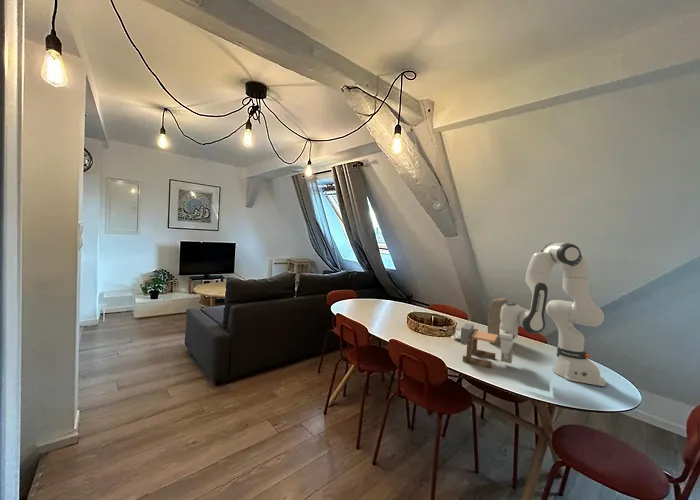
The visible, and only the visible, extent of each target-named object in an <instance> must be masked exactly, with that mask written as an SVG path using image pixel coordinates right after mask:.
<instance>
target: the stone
mask: <svg viewBox="0 0 700 500" xmlns="http://www.w3.org/2000/svg"><path fill="white" fill-rule="evenodd" d="M513 355H514V349H511V350H510V352H509V354H508V359H504V353H502V352H501V355H500V357H501V358H500V361H501V362H503V363H508V364H512V362H513Z"/></svg>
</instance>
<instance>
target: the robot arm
mask: <svg viewBox="0 0 700 500" xmlns="http://www.w3.org/2000/svg"><path fill="white" fill-rule="evenodd" d="M556 264H561V265H562V267H563V274H562V291H563V292H564V293H565V294H566V295H568V296H570V297H571V298H572V300H573V301H568V300H562V299H551V300H550V301H548V302H547V300H548V291H549V283H550V278H551V273H552V271H553V268H554V266H555V265H556ZM589 278H590V269H589V262H588V260H587V258H585V256H583V255H582V251H581V250H580V248H579V247H578V246H577V245H575V244H573V243H570V242H569V243H568V242H562V241H561V242H552V243H551V242H549V243H548V244H546V245H545V246H544V247H543V248H542V250H541V251H538V252H534V253H533V254H532V256H531V258H530V260H529V263H528V266H527V268H526V273H525V283H526V285H527V287H528V289H530V292H531V294H532V299H531V302H530V303H531V304H530V308H529V309H527V308H526V307H525V308H524V307H522V306H520V305H519V304H518V303H516V302H513V301H512V302H511V301H510V302H508V303H505V304H503V305H502V308H501V314H500V319H501V323H500V331H499V334H500V338H501V342H500V351H501V352H502V353H504V359H508V354H509V352H510V350H512V348H513V345H514V340H515V338H518V332H519V331H518V330H519V327H522V328H524V329H523V330H525V331H526V332H527V333H529V334H532V335H538V334H540V333H541V332H543V331H544V329H545V328H546V320H545V312H546V314H547V315H548V317H550V319H552V321H553V323H555V326H556V328H557V331H558V332H557V333H558V342H557V343H558V344H557V346H556V353H555V354H556V359H555V362H554V366H553V369H552V372H554V374H556V375H558V376H560V377H561V378H564V379H566V380H568V381H572V382H577V383H584V384H589V385H594V386H600V387H605V386H606V385H607V384H606V379H605V378H604V377H602V376H601V372H600V369H599V367H598V366H597V365H596V364H594V362H592V361H591V360H590V358H591V356H590V354H589V353H588V352H587V351H586V350H584V349H585V348H584V347H585V336H584V334H583V333H582V332H581V331H579V330H578V329H576V327H575V326H574V324H576V325H581V326H586V327H599V326H601V325H602V324H603V322H604V320H605V314H604V312H603V310H602V309H601V308H600V307H599V306H597V305H596V304H595V303H594V301H593V300H592V297H591V295H590V291H589V281H590V279H589Z"/></svg>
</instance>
